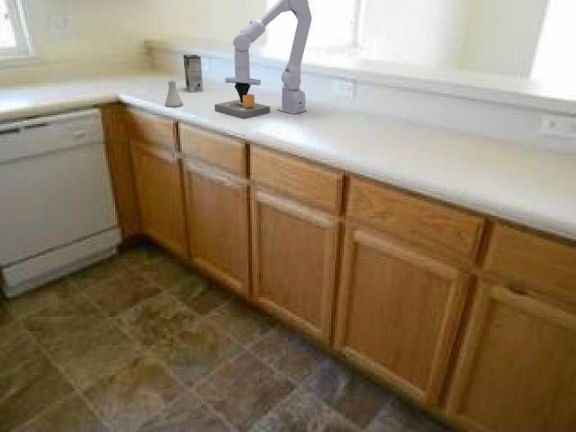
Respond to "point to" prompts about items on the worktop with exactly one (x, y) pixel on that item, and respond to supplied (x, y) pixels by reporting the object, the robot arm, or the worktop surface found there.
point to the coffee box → (193, 73)
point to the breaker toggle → (248, 100)
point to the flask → (173, 96)
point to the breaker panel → (241, 109)
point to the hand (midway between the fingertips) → (243, 102)
